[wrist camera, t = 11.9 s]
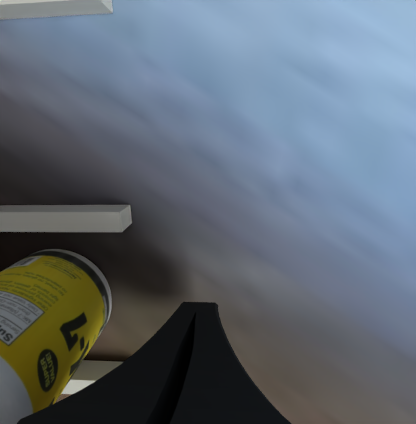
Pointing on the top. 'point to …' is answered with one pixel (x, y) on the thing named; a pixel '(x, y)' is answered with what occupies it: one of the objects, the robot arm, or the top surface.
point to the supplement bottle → (47, 327)
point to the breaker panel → (64, 214)
